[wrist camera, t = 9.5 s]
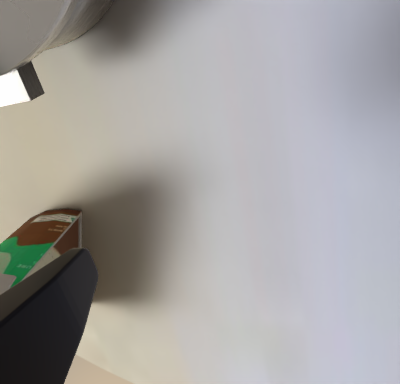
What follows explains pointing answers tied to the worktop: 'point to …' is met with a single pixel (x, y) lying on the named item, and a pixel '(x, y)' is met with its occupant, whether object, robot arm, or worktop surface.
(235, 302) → the worktop surface
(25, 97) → the pot
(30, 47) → the lid
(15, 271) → the food container
